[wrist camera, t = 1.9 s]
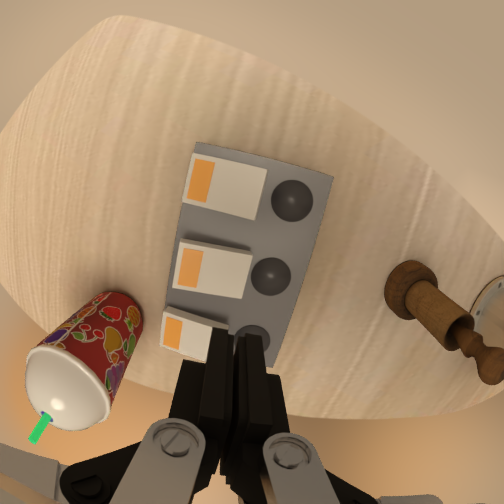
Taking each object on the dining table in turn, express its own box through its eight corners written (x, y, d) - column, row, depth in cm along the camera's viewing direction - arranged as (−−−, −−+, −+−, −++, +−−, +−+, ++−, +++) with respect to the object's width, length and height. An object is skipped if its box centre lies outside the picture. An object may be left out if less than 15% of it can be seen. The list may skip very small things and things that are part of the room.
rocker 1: (268, 169, 22) (267, 169, 21) (256, 218, 23) (254, 220, 22) (197, 153, 23) (192, 152, 21) (186, 200, 24) (180, 201, 23)
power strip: (323, 175, 27) (335, 177, 23) (270, 349, 33) (272, 370, 29) (202, 144, 26) (195, 141, 22) (167, 327, 32) (159, 346, 28)
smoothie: (81, 282, 30) (-30, 385, 11) (143, 278, 30) (43, 409, 11) (101, 343, 32) (25, 460, 13) (160, 343, 32) (103, 486, 13)
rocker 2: (229, 325, 26) (226, 332, 25) (220, 358, 27) (217, 366, 26) (168, 305, 26) (162, 311, 25) (164, 339, 28) (158, 346, 26)
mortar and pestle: (377, 275, 30) (476, 372, 13) (422, 251, 30) (534, 321, 12) (390, 320, 32) (470, 421, 15) (431, 296, 31) (523, 377, 14)
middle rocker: (250, 251, 25) (252, 256, 24) (239, 292, 26) (241, 299, 25) (180, 238, 24) (179, 242, 22) (173, 281, 25) (172, 288, 24)
